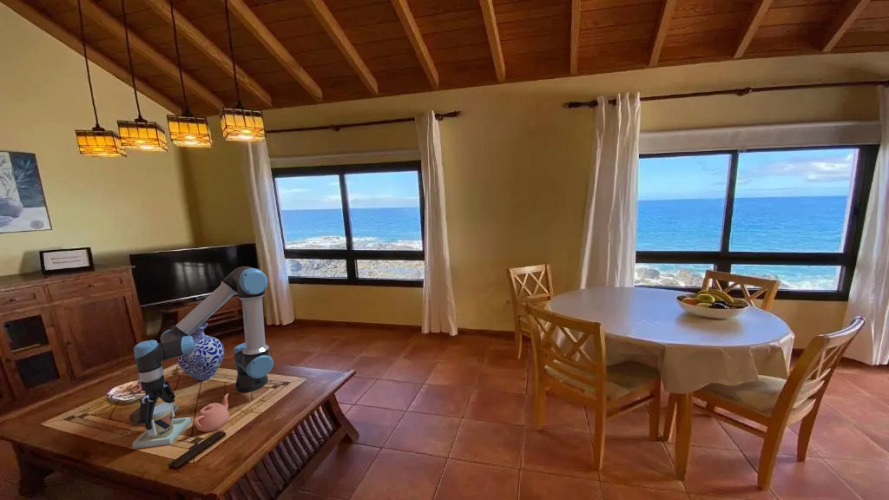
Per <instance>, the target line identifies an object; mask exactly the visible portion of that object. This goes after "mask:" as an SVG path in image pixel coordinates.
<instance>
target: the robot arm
mask: <svg viewBox="0 0 889 500" xmlns="http://www.w3.org/2000/svg"><path fill="white" fill-rule="evenodd" d="M268 283H269V282H268V277H267V276H266V274H265V273H264V272H263V271H262V270H261V269H258V268H254V267H252V266H249V265H244V266H243V265H242V266H239V267H237V268H235V269H234V270H233V271H231V272H230V273H229V274H228V275H227V276H226V277H225V278H224V279H223V280H222V281H221V282H220V285H219V286H218V287H217V288H216V289H215V290H213V291H212V292H211V293H210V294H209V295H208V296H207V297H206V298H205V299H204V300H202V301H201V302H200V303H199V304H197V306H196V307H195V308H193V309H192V310H191V311H190V312H189V313H188V314H187V315H185V317H184V318H182V319H181V320H180V321H179V322H178V323H176V325H174V326H173V327H172V328H171V329H167V330H165V331H164V332H163V333H162V334H161V336H160V342H159V343H158V341H157V340H155V339H150V340H145V341H141V342H138V344H135V346H134V347H133V353H134V359H135V365H136V367H137V373H138V377H139V381H140V387H141V390H142V392H144V394H145V396H144V397H141V398H140V399H139V404H140V405H139V407H140V424H139V425H144V427H145V429H146V430H147V433H148V436H153V435H156V434H157V433H156V428H155V423H154V420H152V417H153V412H154V407H155V405H156V404H158V403H157V401H158V400H159V398H160V400H162V401H163V403H170V404H171V410H172V418H174V417H175V416H176V415H175V412H174V410H173V404H174V402H176V395H175V393H174V391H173V389H172V388H171V386H170V383H169V381H168V380H165V375H164V370H163V365H162V362H164V361H168V360H171V359H175V358H177V357H178V356H182V355H186V354H188V353H191V352H193V351H194V350H195V344H194V340H193V338H192V333H193V332H194V331H195V330H196V329H197V328H198V327H199V326H201V325H202V324H203V323H206V321H207V320H208V319H209V318H210V317H211V316H213V315H214V314H215V313H216V312H217V311H218V310H219V309H220V308H221V307H222V306H223V305H225V303H227V301H229V300H230V299H231V298H232V297H233V296H236V295H237V297H238V299H240V300H241V304H242V305H241V306H242V317H243V327H244V328H243V329H244V331H243V332H244V340H245V341H244V342H243V343H241V344H238V345H236V346H235V347H234V349H233V355H234V361H235V367H236V374H237V376H236V380H235V391H236V392H238V393H249V392H254V391H256V390H258V389H261V388H262V387H264V386H265V385H267V383H268V382H269V378H268V377H269V376H268V374H269V373H270V372H271V371H272V369H273V368H274V367H273V366H274V359H273V358H272V357H271V356H270V346H269V345H267V344H266V336H265V335H266V334H265V332H266V331H265V319H264V318H265V317H264V307H263V306H264V305H263V297H264V296H265V295H266V288H267V287H268ZM151 401H152V402H151ZM146 430H145V431H146Z"/></svg>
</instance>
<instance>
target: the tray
mask: <svg viewBox="0 0 889 500" xmlns="http://www.w3.org/2000/svg"><path fill="white" fill-rule="evenodd" d="M172 419H173V432H172V434H170V435H169V436H168V437H166V438H159V439H150V437H149V436H148V433H147V430H145V431H144V432H143V433H141V434H140V435H139V436H138V437H137V438H136V439H135V440H134V441H133V442H132V443H131V445H132V448H133V449H134V450H135V449H137V450H138V449H143V448H144V447H145V448H150V447H152V448H153V447H159V446H165V445H172V443H174V441H175V440H177V438H178V437H179V436H180V435H181V434H182V433H183V431H185V430H186V429H187V427H188V426H189V425H190V423H192V420H191V417H190V416H188V417H179V418H172ZM133 449H132V450H133Z"/></svg>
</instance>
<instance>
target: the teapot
mask: <svg viewBox="0 0 889 500" xmlns="http://www.w3.org/2000/svg"><path fill="white" fill-rule="evenodd" d="M229 394H230V393H226V394H225V395H224V397H223V400H222V403H219V402H213V403H212V402H211V403H208V404H207V405H205V406H204V407H202V409H200V410H199V412H198V414H197V416H196V417H195V418H194V419H193V421H192V422H193V425H195V427H196V429H197V430H198V431H200V432H204V433H208V432H213V431H216V430H218V429H220V428H222V427H223V426H224V425H225V424H226V423H227V422H228V421H229V420H230V413H229V412H230V411H229V410H228V409H229V402H228V396H229Z"/></svg>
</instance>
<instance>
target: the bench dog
mask: <svg viewBox="0 0 889 500" xmlns="http://www.w3.org/2000/svg"><path fill="white" fill-rule="evenodd" d="M150 402H153V401H150ZM139 419H140V406H139V407H137V408H136V409H135V410H134V411H133V412H131V413H130V414H129V421H130V426H137V425H141V424H140V421H139Z"/></svg>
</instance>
